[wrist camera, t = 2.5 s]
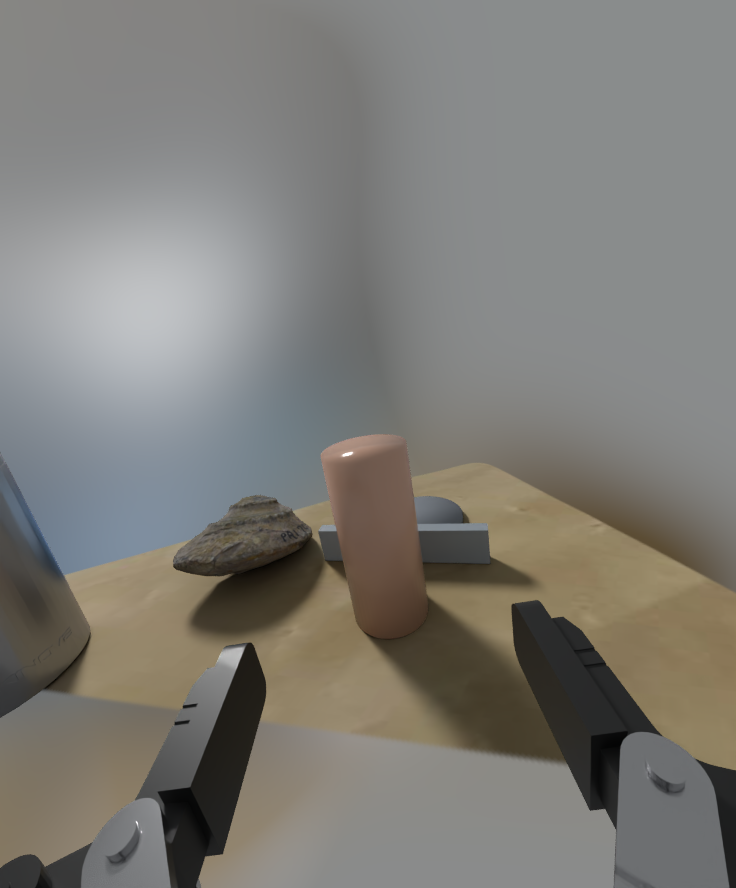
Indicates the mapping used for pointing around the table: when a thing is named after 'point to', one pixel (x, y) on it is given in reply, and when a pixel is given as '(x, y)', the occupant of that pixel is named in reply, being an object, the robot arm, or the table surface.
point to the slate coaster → (437, 511)
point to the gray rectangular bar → (431, 543)
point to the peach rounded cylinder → (378, 532)
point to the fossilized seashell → (244, 539)
